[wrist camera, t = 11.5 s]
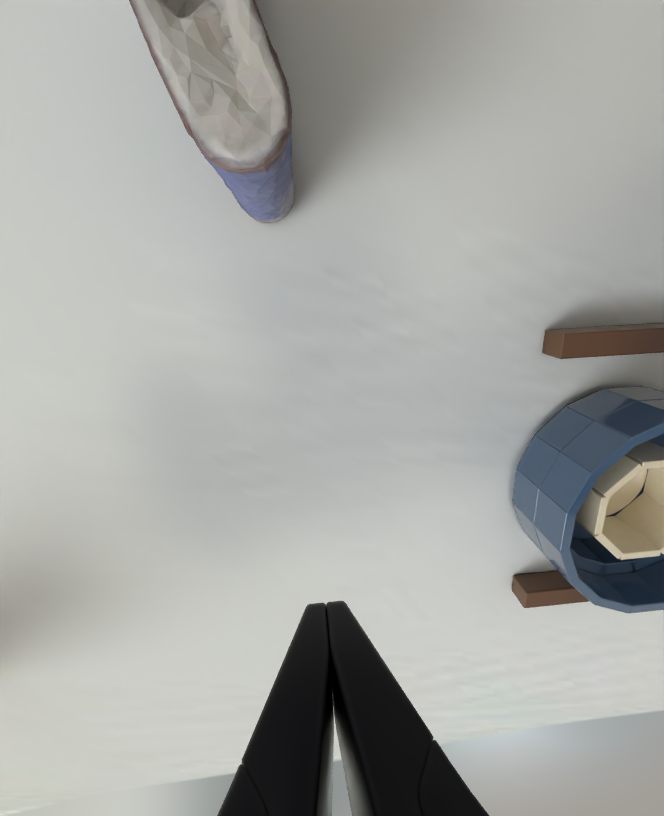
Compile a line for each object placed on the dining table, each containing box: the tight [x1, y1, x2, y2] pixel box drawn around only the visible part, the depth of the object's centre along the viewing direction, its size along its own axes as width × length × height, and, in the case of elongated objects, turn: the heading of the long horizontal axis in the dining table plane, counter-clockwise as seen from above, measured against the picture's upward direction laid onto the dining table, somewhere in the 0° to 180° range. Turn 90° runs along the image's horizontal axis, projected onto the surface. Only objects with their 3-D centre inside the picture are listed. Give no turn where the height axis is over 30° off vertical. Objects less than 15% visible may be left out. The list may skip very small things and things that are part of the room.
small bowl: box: [575, 441, 664, 560], centre depth 20 cm, size 6×6×3 cm
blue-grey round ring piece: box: [512, 386, 664, 613], centre depth 20 cm, size 11×11×5 cm
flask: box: [129, 0, 294, 223], centre depth 10 cm, size 9×3×11 cm, turn 13°
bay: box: [512, 323, 664, 608], centre depth 22 cm, size 12×16×2 cm
